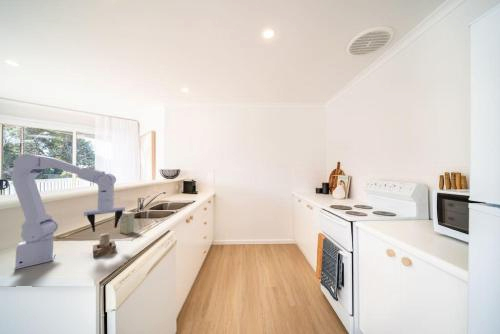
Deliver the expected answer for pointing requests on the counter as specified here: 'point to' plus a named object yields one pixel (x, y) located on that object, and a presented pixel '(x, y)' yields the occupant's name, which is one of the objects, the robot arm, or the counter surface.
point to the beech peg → (104, 240)
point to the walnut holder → (104, 249)
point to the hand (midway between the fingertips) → (105, 229)
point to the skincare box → (127, 222)
